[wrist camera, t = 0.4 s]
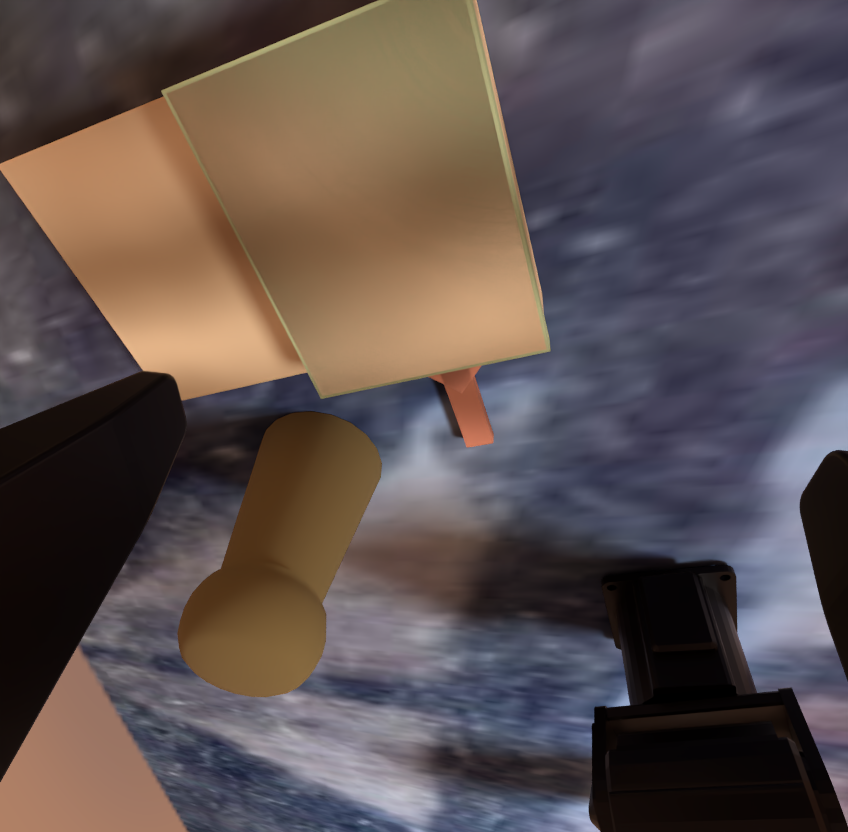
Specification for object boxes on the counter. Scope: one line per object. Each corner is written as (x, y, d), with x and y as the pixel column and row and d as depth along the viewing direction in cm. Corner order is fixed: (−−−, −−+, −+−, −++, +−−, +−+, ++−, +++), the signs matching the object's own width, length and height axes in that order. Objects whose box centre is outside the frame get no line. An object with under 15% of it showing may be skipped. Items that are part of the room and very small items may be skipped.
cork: (255, 484, 30) (150, 693, 21) (267, 395, 26) (145, 606, 17) (367, 516, 30) (309, 734, 22) (394, 433, 27) (337, 656, 18)
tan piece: (572, 420, 25) (581, 486, 22) (253, 475, 29) (222, 536, 26) (472, -34, 16) (462, -35, 13) (34, 147, 20) (-53, 179, 17)
